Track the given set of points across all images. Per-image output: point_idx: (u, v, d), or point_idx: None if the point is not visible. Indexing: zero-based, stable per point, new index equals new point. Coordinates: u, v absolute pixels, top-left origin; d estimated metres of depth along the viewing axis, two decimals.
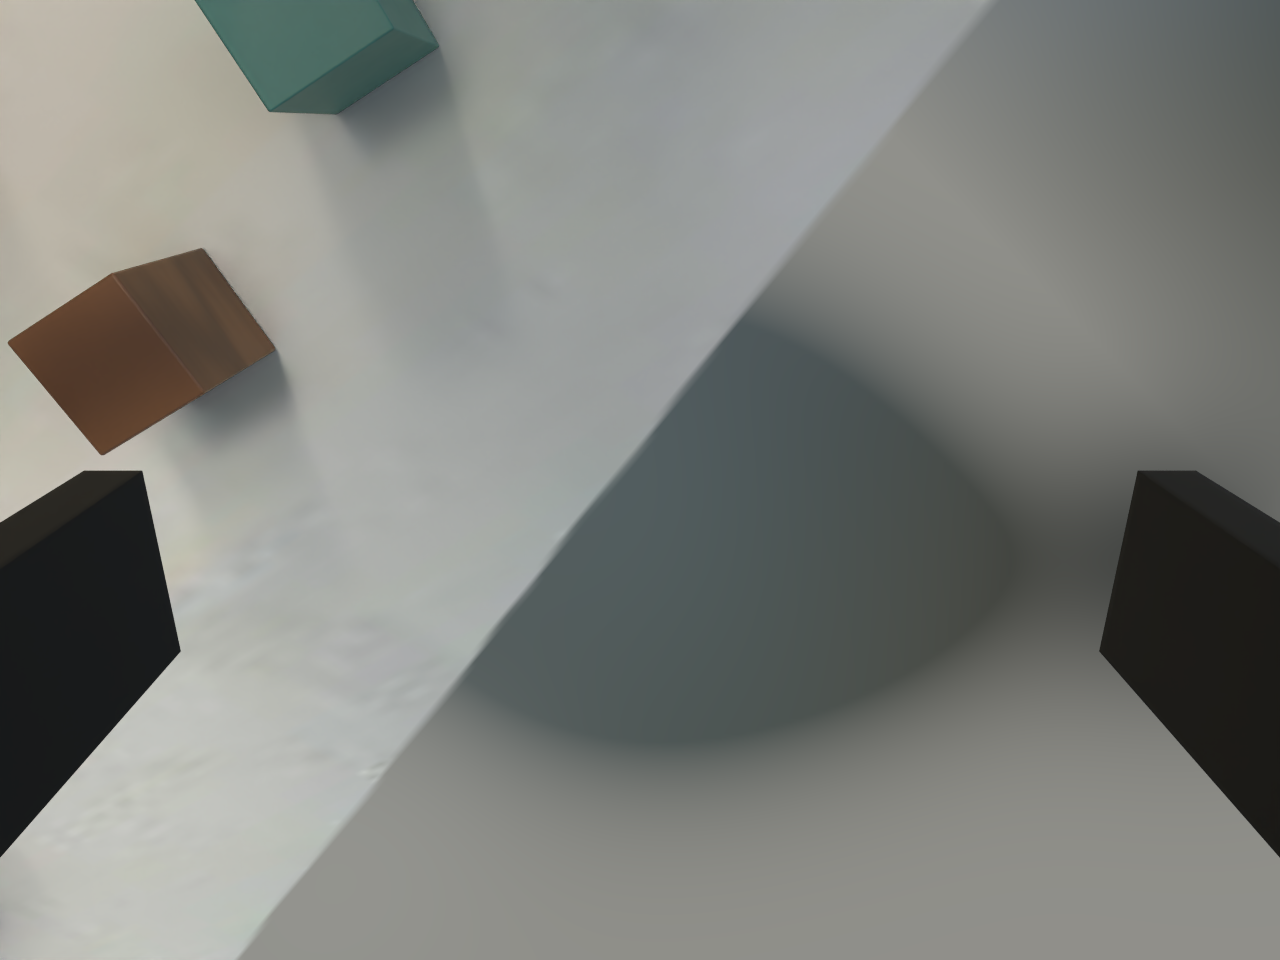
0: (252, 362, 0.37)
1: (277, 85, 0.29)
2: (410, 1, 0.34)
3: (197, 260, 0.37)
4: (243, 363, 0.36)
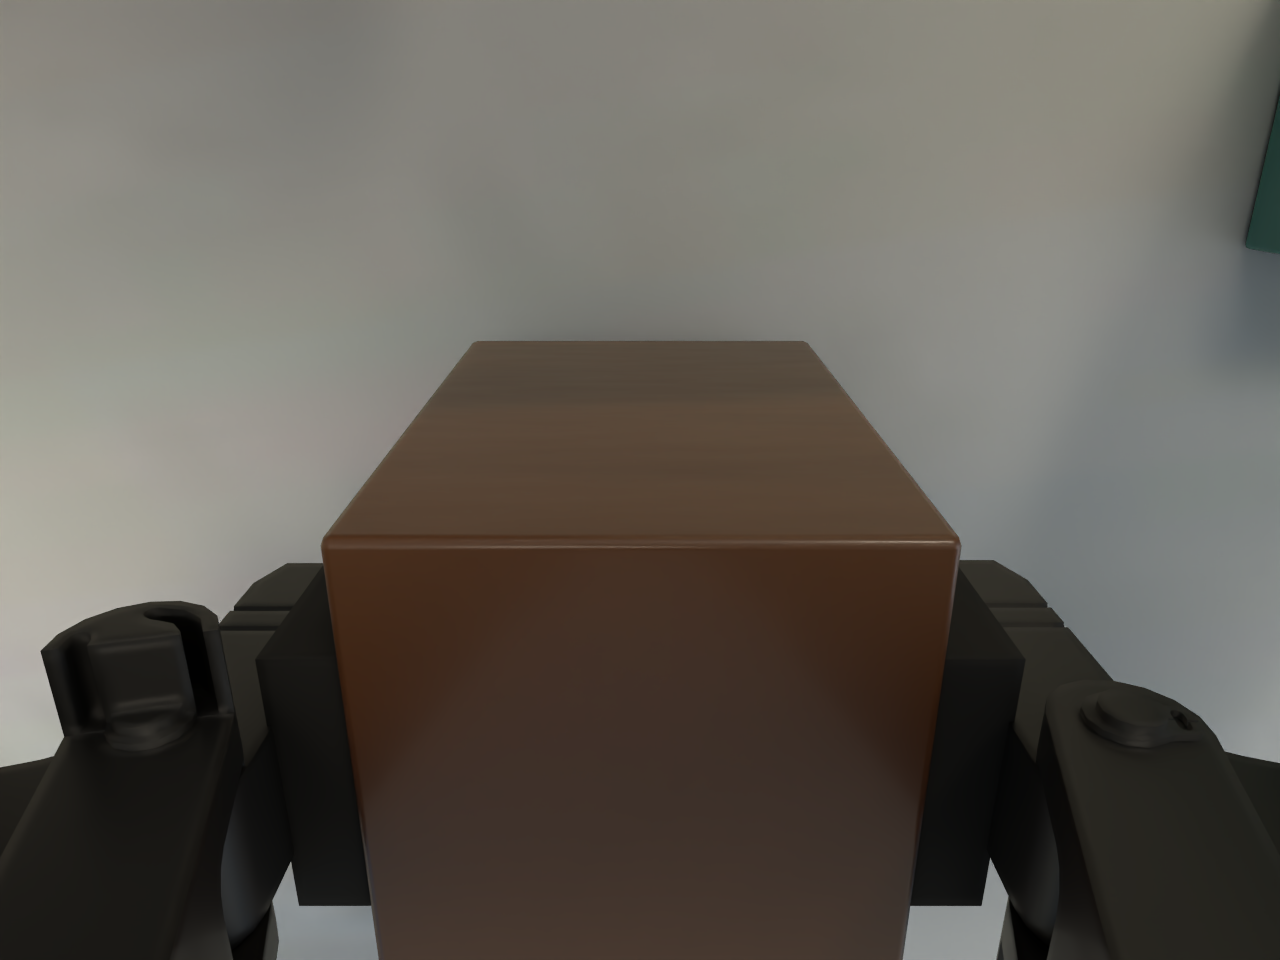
0: None
1: None
2: None
3: None
4: None
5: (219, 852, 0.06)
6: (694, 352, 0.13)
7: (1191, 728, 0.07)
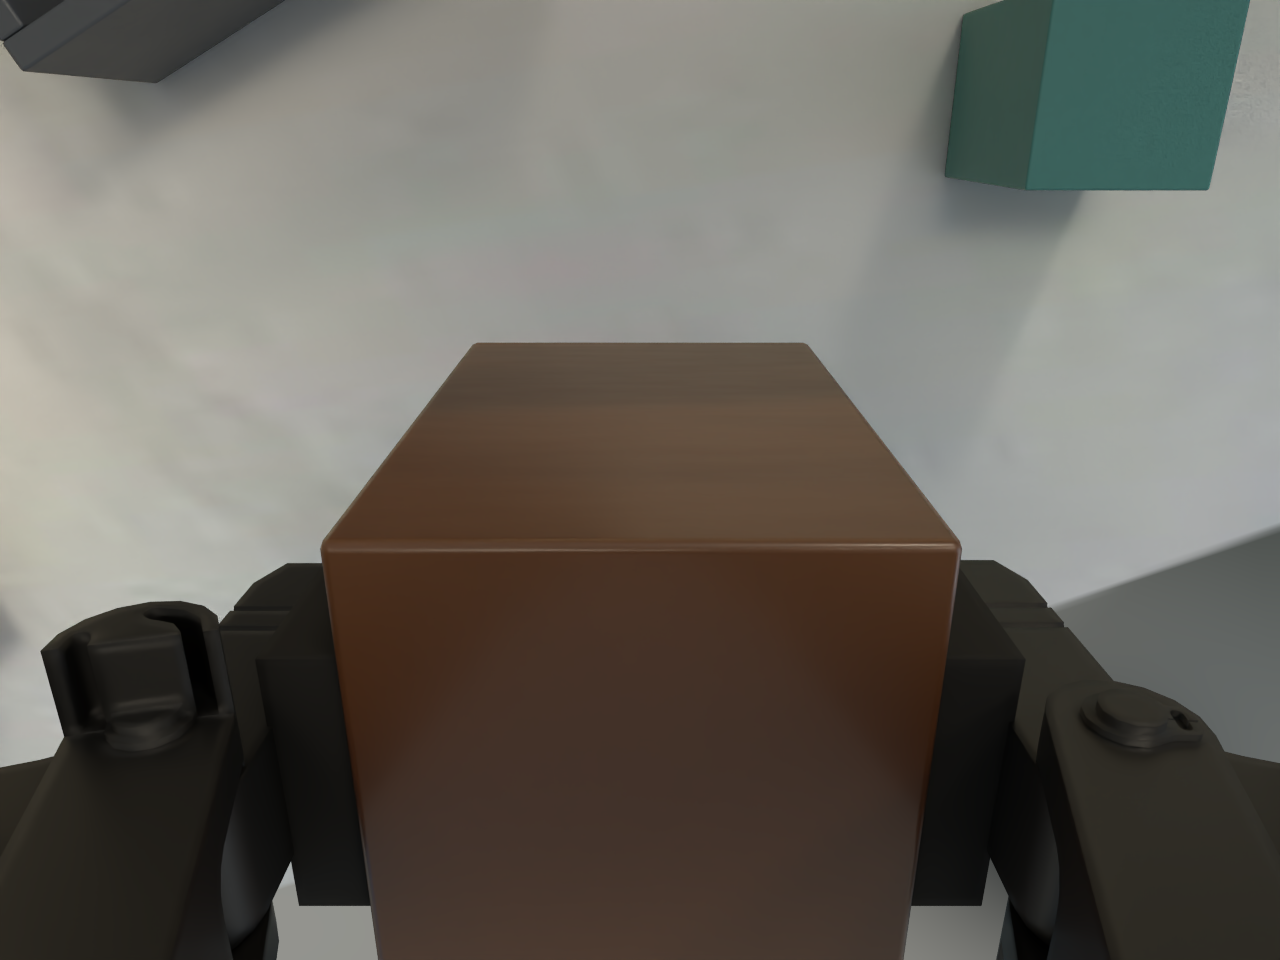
0: None
1: (1055, 170, 0.24)
2: None
3: None
4: None
5: (219, 852, 0.06)
6: (694, 354, 0.13)
7: (1191, 728, 0.07)
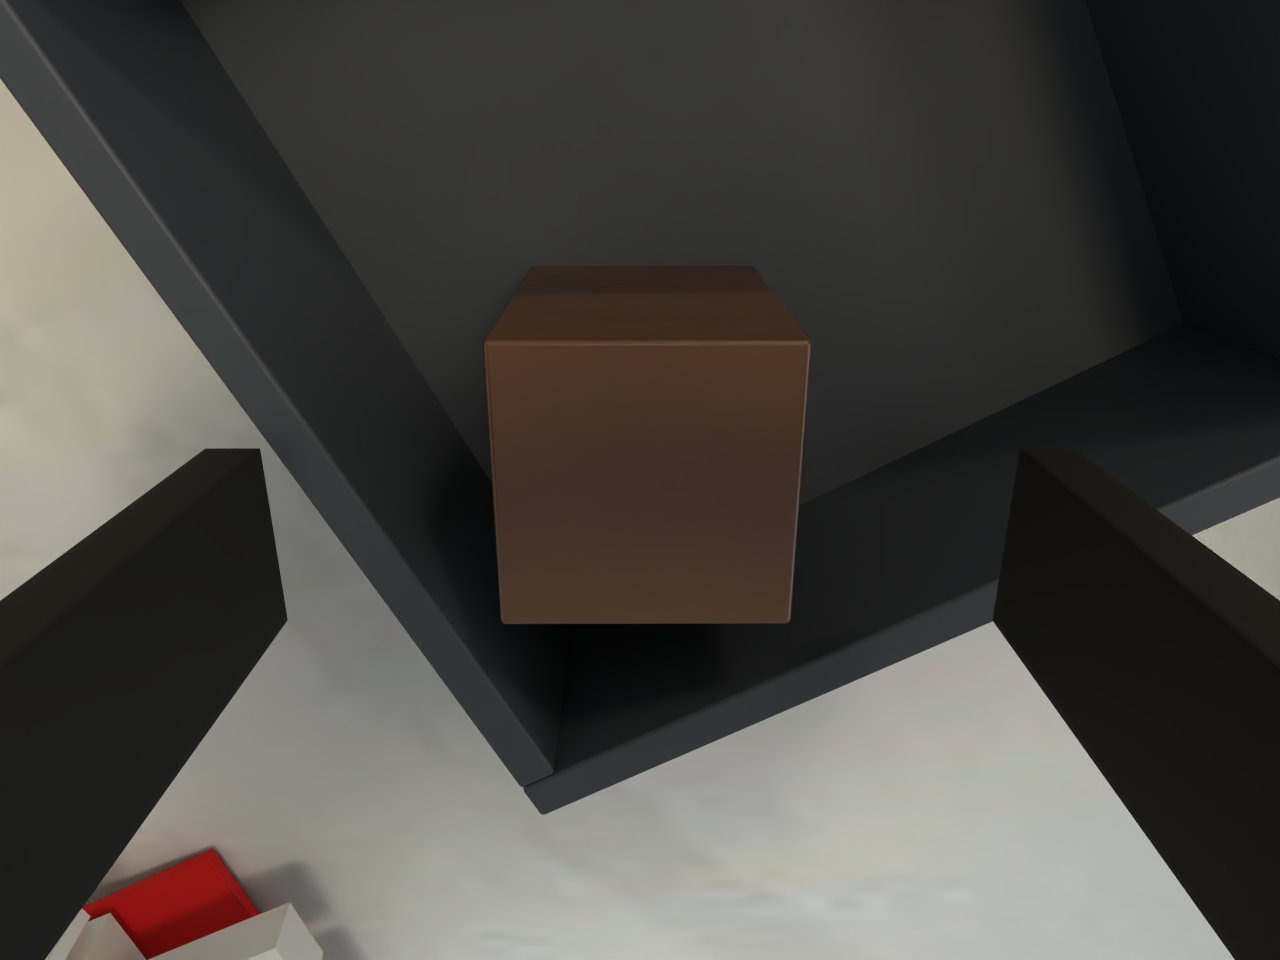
0: None
1: None
2: None
3: None
4: None
5: None
6: (678, 271, 0.19)
7: None
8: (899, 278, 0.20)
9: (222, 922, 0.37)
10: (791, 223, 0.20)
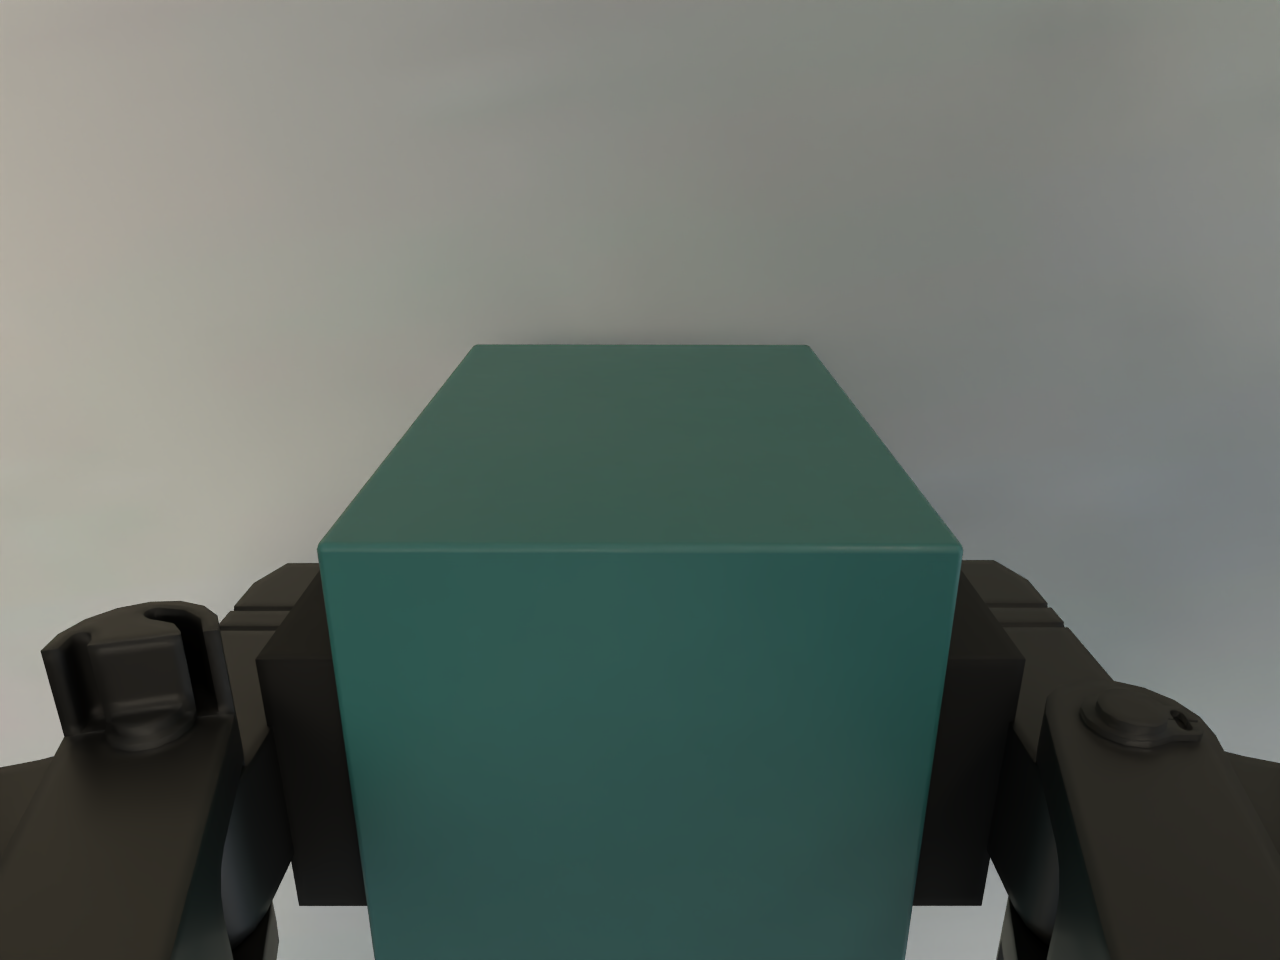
0: None
1: None
2: None
3: None
4: None
5: (219, 852, 0.06)
6: None
7: (1191, 730, 0.07)
8: None
9: None
10: None
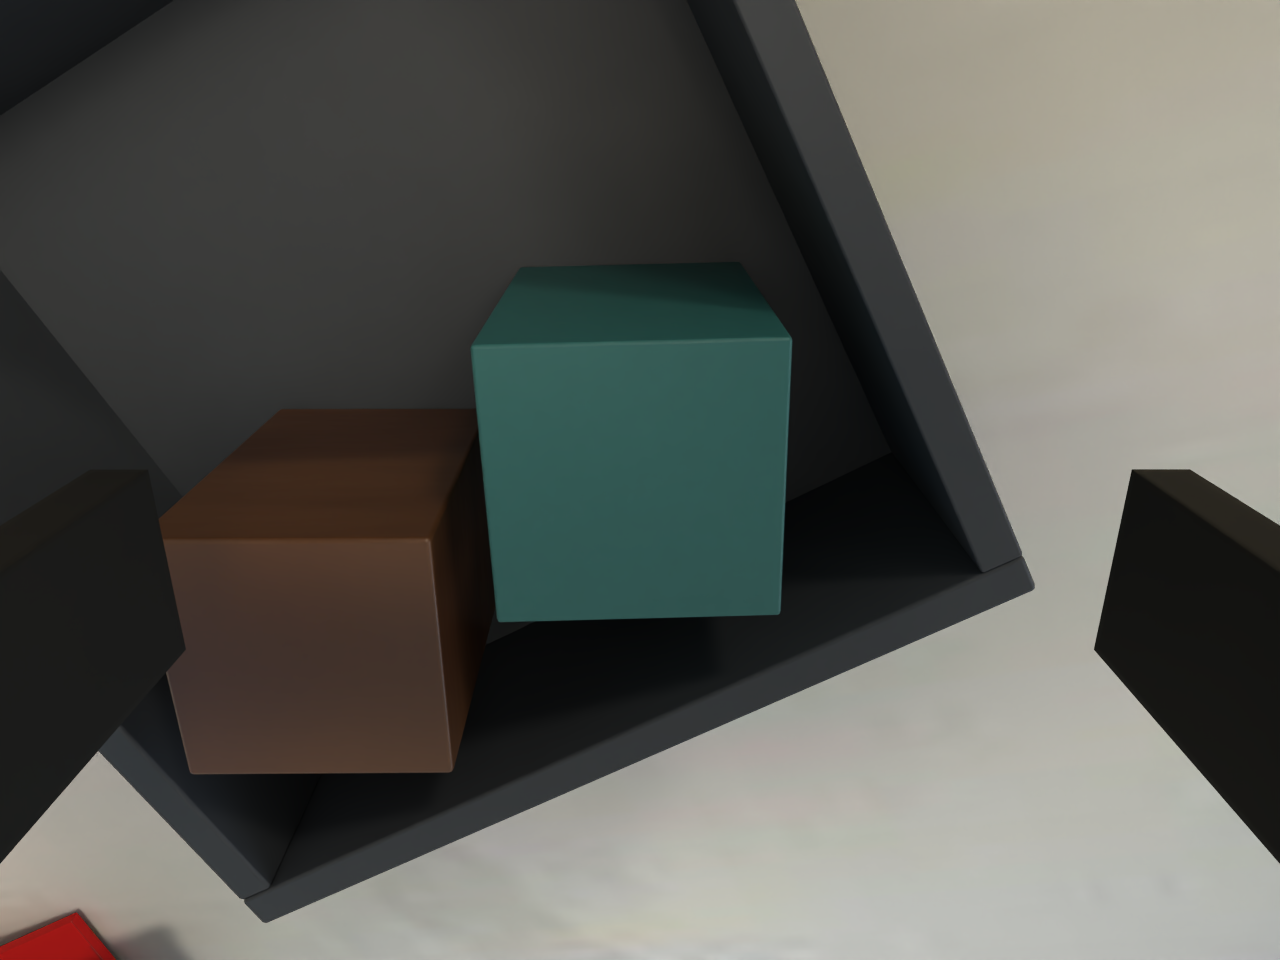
0: (485, 641, 0.21)
1: (537, 596, 0.16)
2: None
3: None
4: (481, 655, 0.21)
5: None
6: (408, 418, 0.21)
7: None
8: None
9: None
10: None
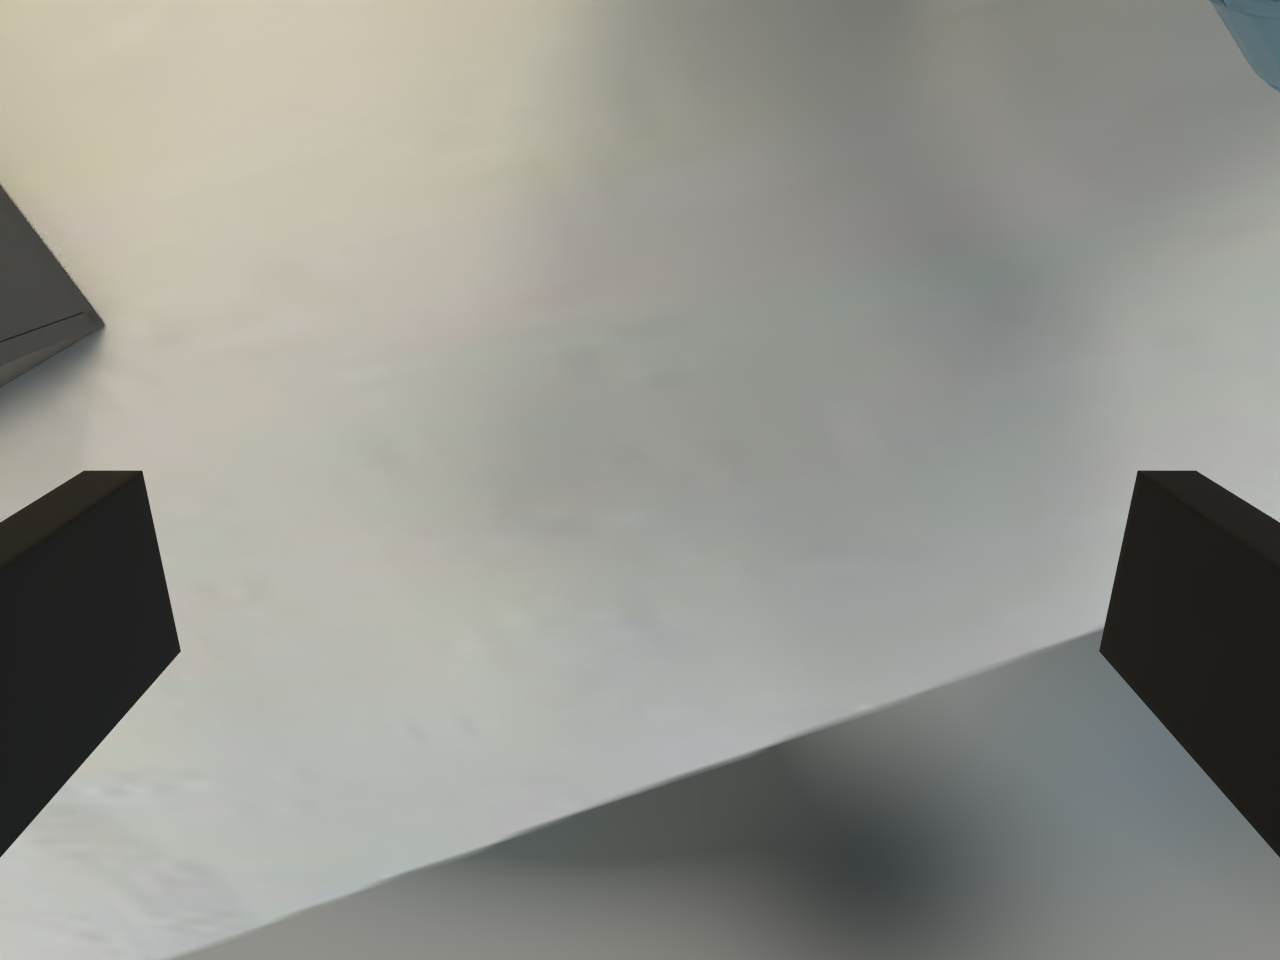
0: None
1: None
2: None
3: None
4: None
5: None
6: None
7: None
8: None
9: None
10: None
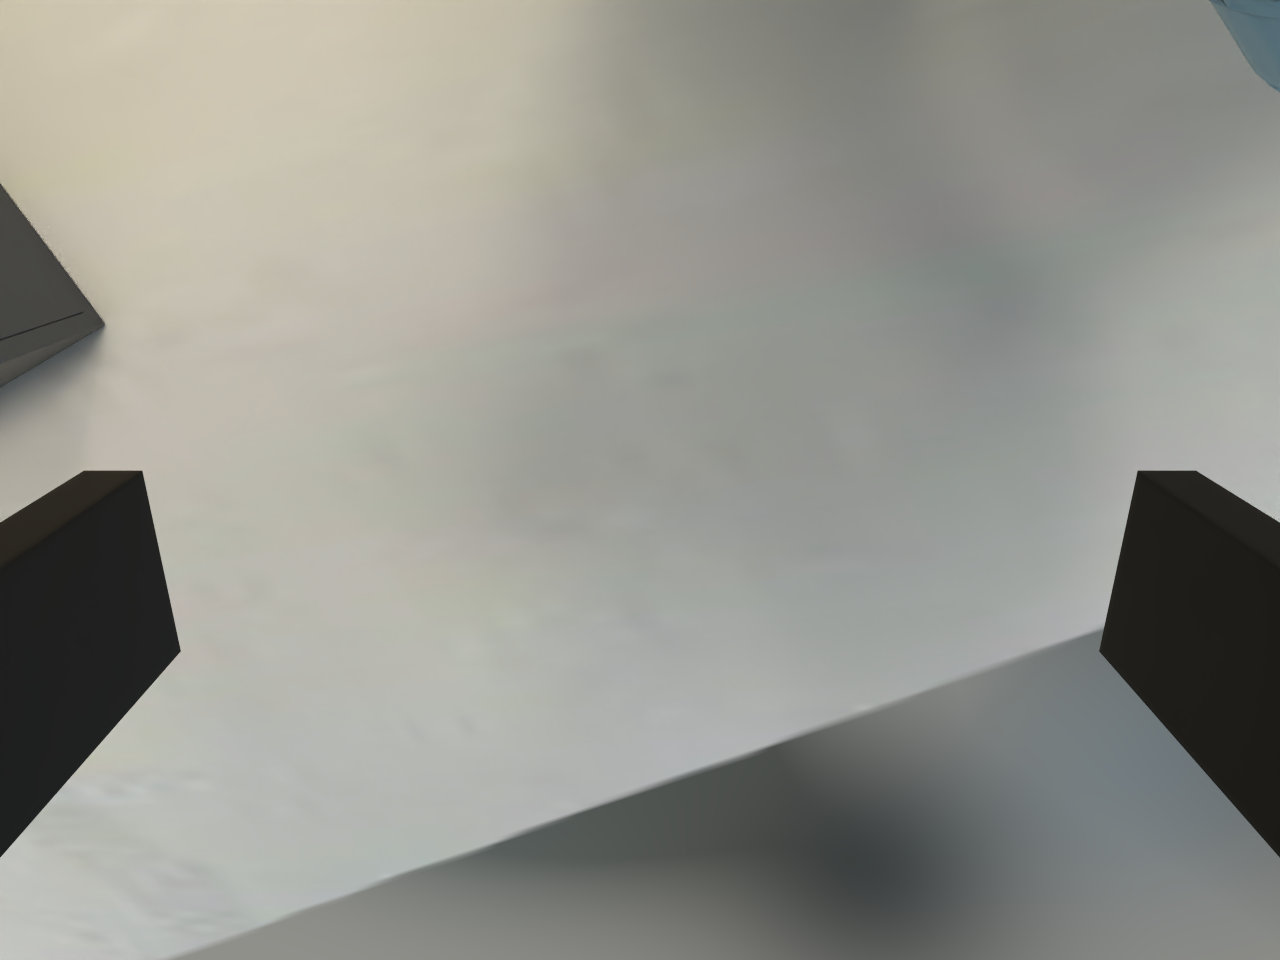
0: None
1: None
2: None
3: None
4: None
5: None
6: None
7: None
8: None
9: None
10: None
